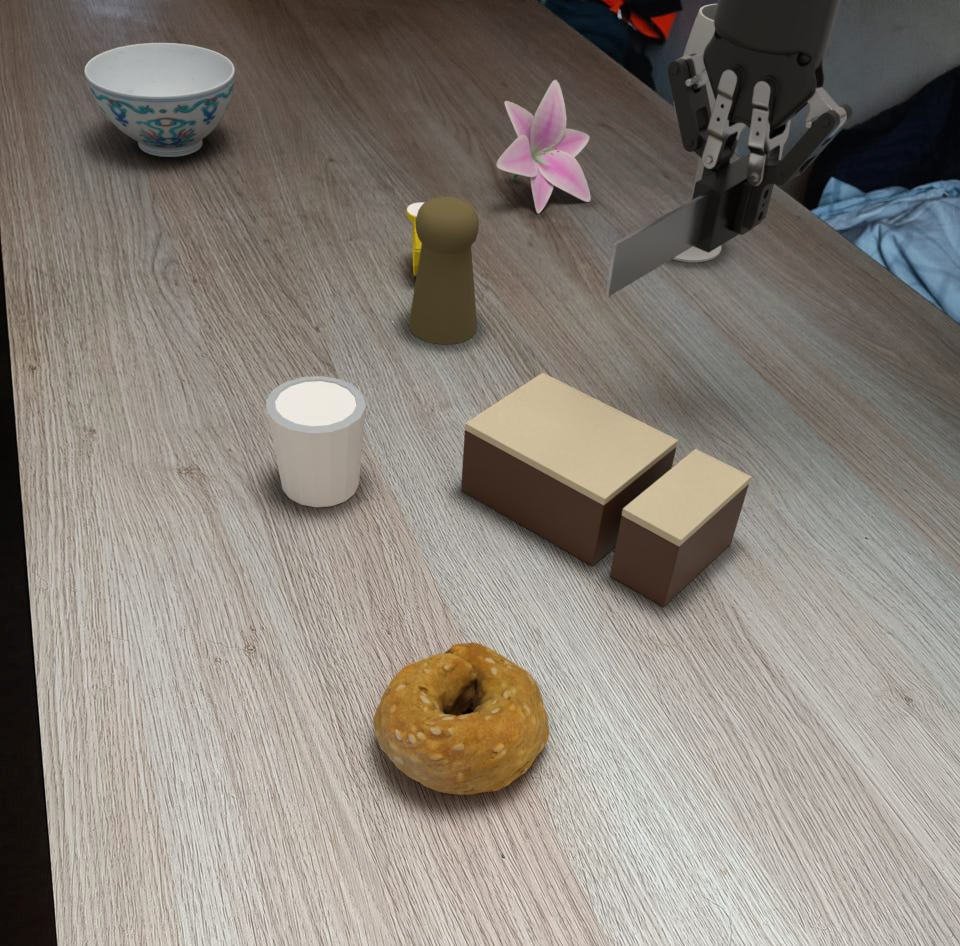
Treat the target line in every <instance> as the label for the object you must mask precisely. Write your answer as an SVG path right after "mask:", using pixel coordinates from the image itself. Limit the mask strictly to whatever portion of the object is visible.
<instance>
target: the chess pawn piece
mask: <svg viewBox="0 0 960 946" xmlns="http://www.w3.org/2000/svg"><path fill="white" fill-rule="evenodd" d="M423 203H424V204H422V206H421V207H420V209H419V210H418V214H417V217H416V232H417V236H418V238H419V240H420V241H421V243H422V245H421V252H420V258H419V264H418V270H417V276H416V277H415V282H414V290H413V295H412V302H411V308H410V315H409V319H408V327H409V330H410V332H411V333H412V334H413V335H414V336H415V337H417V338H419V339H420V340H422V341H425V342H428V343H431V344H438V345H454V344H458V343H462V342H466V341H468V340H469V339H471V338H473V337H474V336H475V334H476V333H477V330H478V319H477V307H476V306H477V305H476V293H475V292H476V291H475V280H474V269H473V268H474V267H473V252H472V245H473V244H474V243H475V242H476V240H477V237H478V234H479V229H480V219H479V215H478V213H477V211H476V209H475V208H474V206H473V205H472V204H471V203H470V202H468V201H466V200H465V199H461V198H459V197H454V196H438V197H433V198H430V199H428V200H426V201H424V202H423Z"/></svg>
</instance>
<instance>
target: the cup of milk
mask: <svg viewBox="0 0 960 946" xmlns="http://www.w3.org/2000/svg"><path fill="white" fill-rule="evenodd" d="M265 406H266V414H267V415H266V416H267V419H268V424H269V429H270V430H269V431H270V434H271V440H272V445H273V450H274V455H275V458H276V464H277V469H278V474H279V478H280V484H281V488H282V491H283V493H284V494H285V495H286V496H287V497H288V499H290V500H291V501H293V502H295V503H297V504H299V505H301V506H307V507H310V508H311V507H312V508H328V507H333V506H336V505H339V504H342V503H345V502H346V501H348V500H349V499H350V498H352V497H353V496H354V495H355V494H356V493H357V490H358V488H359V485H360V476H361V465H362V452H363V444H364V443H363V442H364V433H365V422H366V410H367V405H366V400H365V395H364V394H363V393H362V392H361V391H360V390H359V389H358V388H357V387H356V386H355V385H353V384H351V383H349V382H347V381H344V380H342V379H340V378H337V377H336V378H335V377H330V376H323V375H315V376H313V375H312V376H300V377H297V378H293V379H291V380H288V381H287V380H286V381H284V382H283V383H282V384H280V385H278V386H276V387H275V388H274V389H272V390H271V392H270V393H269V395H268V397H267V398H266V400H265Z"/></svg>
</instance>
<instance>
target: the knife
mask: <svg viewBox="0 0 960 946" xmlns="http://www.w3.org/2000/svg"><path fill="white" fill-rule="evenodd" d="M749 157H750V152H749V153H748V154H746V155H743V156H742V157H740V158H739V159H736V160H735V161H732V162H730V163H731V164H729V165H727V166H725V167H723V168H721V169H720V170H718V171H716V172H714V173H712V174H710V175H708V176H707V177H705V178H703V179H701V180H699V181H697V182H696V183H695V188H694V193H693V198H692V200H691V199H690V200H689V201H688V202H686V203H684V204H682V205H680V206H679V207H677V208H675V209H673V210H671V211H670V212H667V213H666V214H664V215H663V216H660V217H659V218H657V219H655V220H653V221H652V222H650V223H648V224H646V225H644V226H641V227H640V228H639V229H637V230H635V231H633V232H632V233H630V234H628V235H626V236H625V237H622V238H620V239H619V240H617V241H615V242H613V243H612V246H611V252H610V253H611V254H610V259H609V267H608V272H607V278H606V279H607V280H606V285H605V291H604V296H605V297H607V298H609V297H611V296H613V295H614V294H615V293H617V292H619V291H620V290H622V289H624V288H626V287H627V286H629V285H631V284H632V283H634V282H636V281H638V280H639V279H641V278H642V277H644V276H646V275H647V274H649V273H651V272H653V271H654V270H656V269H658V268H659V267H661V266H663V265H664V264H666V263H668V262H670V261H671V260H673V258H674V257H676V256H678V255H679V254H681V253H683V252H684V251H686V250H688V249H689V248H691V247H693V246H694V247H696V248H698V249H701V250H703V251H706V252H708V253H709V252H711V251H712V250H714V249H716V248H717V247H719V246H721V247H722V245H724V244H726V243H728V242H729V241H730V240H733V239H734V238H735V237H737V236H739V235H740V234H738V233H735V232H733V226H734V221H735V217H736V213H737V209H738V205H739V200H740V196H741V192H742V188H743V184H744V183H745V182H747V171H748V164H749ZM774 186H775V184H773V186H772V189H771V193H770V197H769V201H768V204H767V209H766V213H765V217H764V219H763V220H765V219H766V217H767V213H768V209H769V206H770V202H771V198H772V193H773V190H774Z"/></svg>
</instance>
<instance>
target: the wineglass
mask: <svg viewBox="0 0 960 946" xmlns="http://www.w3.org/2000/svg"><path fill="white" fill-rule="evenodd" d="M717 4H718V3H710V4H706V5H703V6H701V7H700V8H699V10H698V13H697V14H696V17H695V20H694V22H693V25H692V28H691V31H690V33H689V36H688V40H687V42H686V46H685V48H684V52H683V56H682V57H684V56H686V55H690V54H693V53H695V54H697V55H698V54H701V53H704V50H705V48H706V46H707V44H708V43H709V42H710V40H711V39H712V37H713V35H714V32H715V26H714V19H715V14H716V9H717ZM706 88H707V93H708V98H709V103H710V109H711V114H712V111H713V108H714V104H715V97H714V94H713V91H712V88H711V85H710V81H709V78H708V82H707V84H706ZM673 109H674V116H675V120H676V121H677V123H678V119H677V114H676V109H675V104H674V102H673ZM747 127H748V126H747V125H746V126H745V127H744V129H743V130H742V131H741V133H742V132H743V131H745V130H746V128H747ZM703 169H704V165H703V163H702V159H701V157H700V156H699V155H697V168H696V172H695V178H694V183H693V188H692V192H691V195H690V201H691V200H692V198H693V193H694V188H695V183H696V182H697V181H699V180H701V179H702V174H703ZM722 247H723V246H722V245H721V246H719V247H717V248H716V249H714V250H712V251H711V252H709V253H708V252H706V251H703V250H701V249H698V248H696V247H694V246H693V247H691V248H689V249H688V250H686V251H684V252H683V253H681V254H679V255H678V256H676V257H674V258H673V259H672V260H674V261H677V262H681V263H682V262H683V263H705V262H708V261H712V260H714V259H717V258H718V257H719V256H720V254H721V252H722Z"/></svg>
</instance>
